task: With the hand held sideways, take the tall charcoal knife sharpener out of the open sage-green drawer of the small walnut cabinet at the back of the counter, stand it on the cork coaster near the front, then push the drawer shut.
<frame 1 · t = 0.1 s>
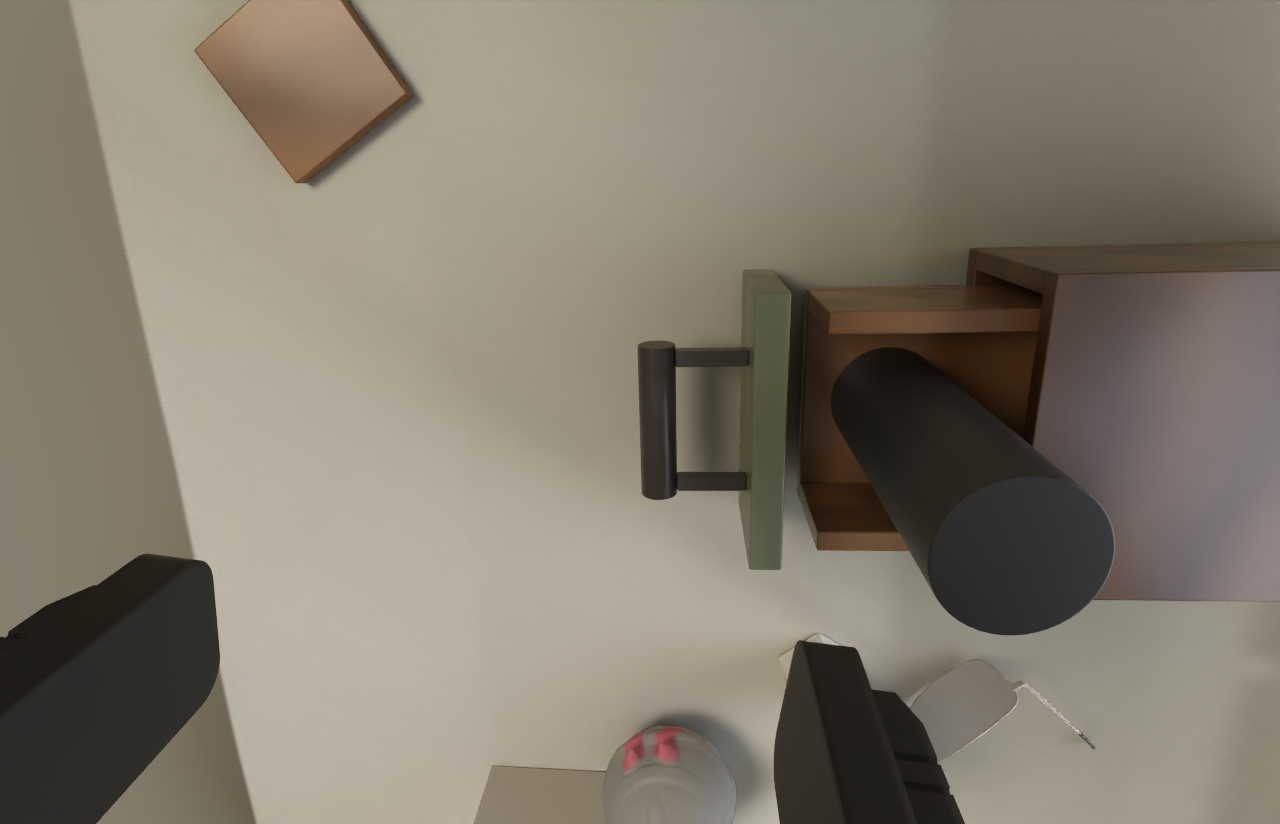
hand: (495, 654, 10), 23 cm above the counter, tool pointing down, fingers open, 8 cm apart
drawer: (855, 413, 29), point 4 cm above the counter, slide at 8.0 cm, touching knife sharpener
soap dispenser: (532, 812, 41), on the counter
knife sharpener: (885, 399, 30), point 2 cm above the counter, touching drawer
eyeglasses: (931, 762, 39), on the counter
cabinet: (1118, 383, 32), on the counter
figurine: (668, 743, 39), on the counter
perfume bottle: (819, 668, 37), on the counter
coaster: (310, 74, 30), on the counter
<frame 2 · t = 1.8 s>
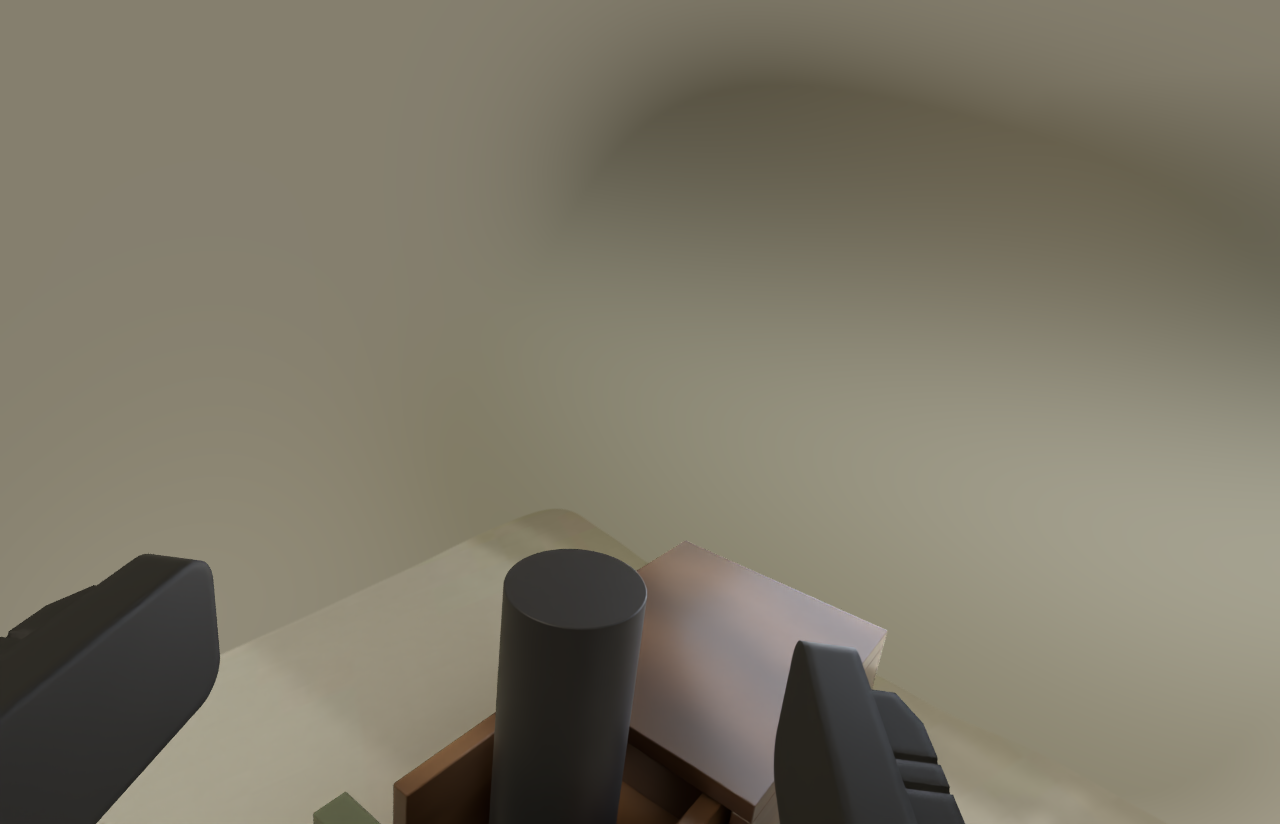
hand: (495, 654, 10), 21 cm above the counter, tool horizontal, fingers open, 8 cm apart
cabinet: (688, 772, 36), on the counter
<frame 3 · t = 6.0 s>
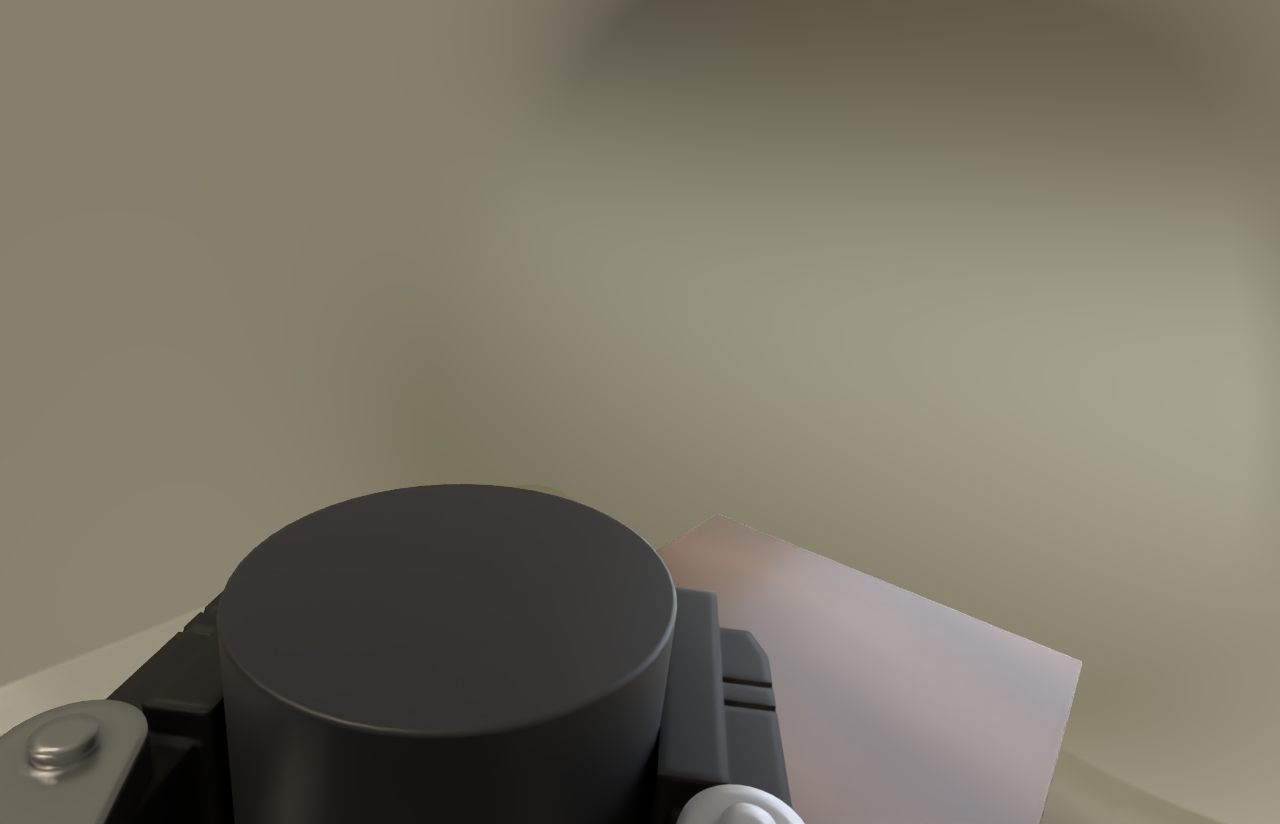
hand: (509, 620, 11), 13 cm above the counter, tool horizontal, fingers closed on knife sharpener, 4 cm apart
when the fingers open (11 cm above the counter, at t = 14.6 s): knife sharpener stays where it is, resting on coaster.
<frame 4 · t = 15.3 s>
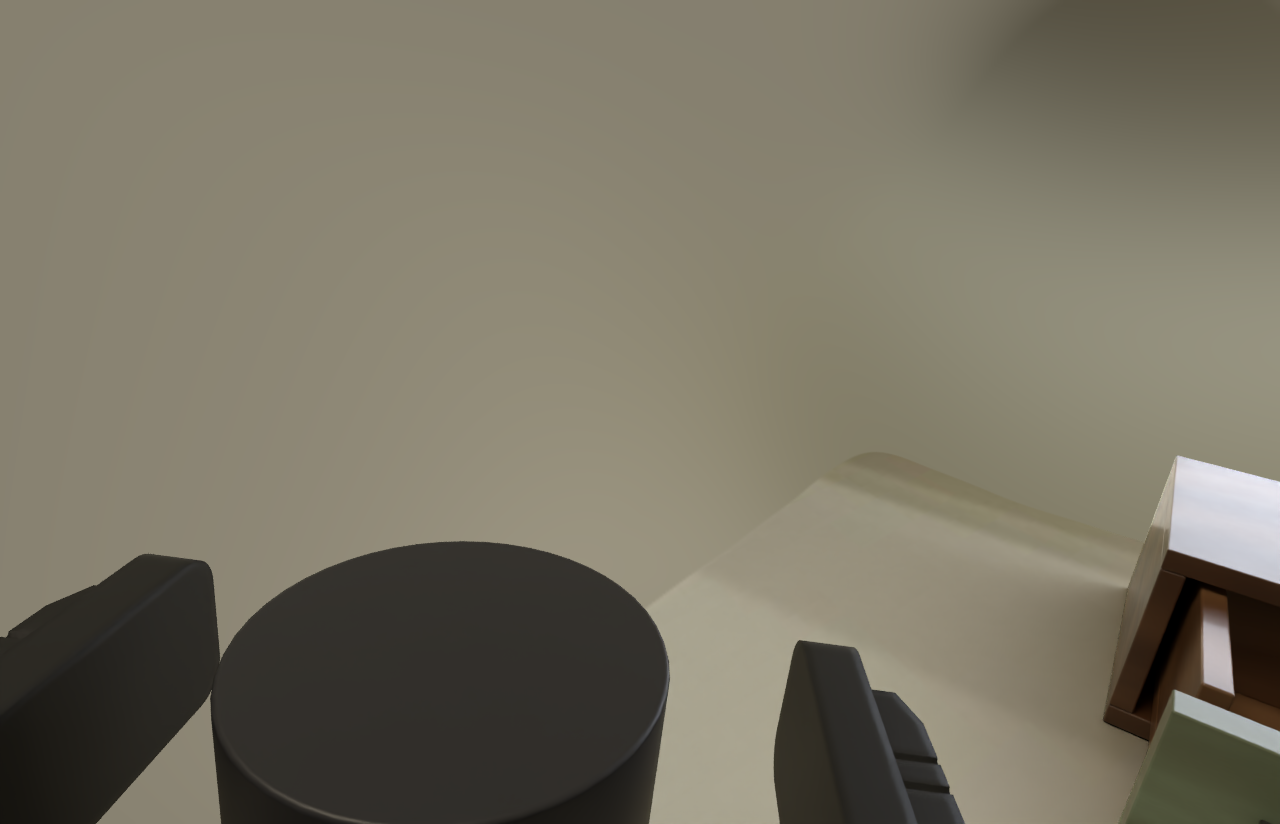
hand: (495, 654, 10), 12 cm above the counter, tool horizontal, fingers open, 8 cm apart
cabinet: (1275, 704, 31), on the counter
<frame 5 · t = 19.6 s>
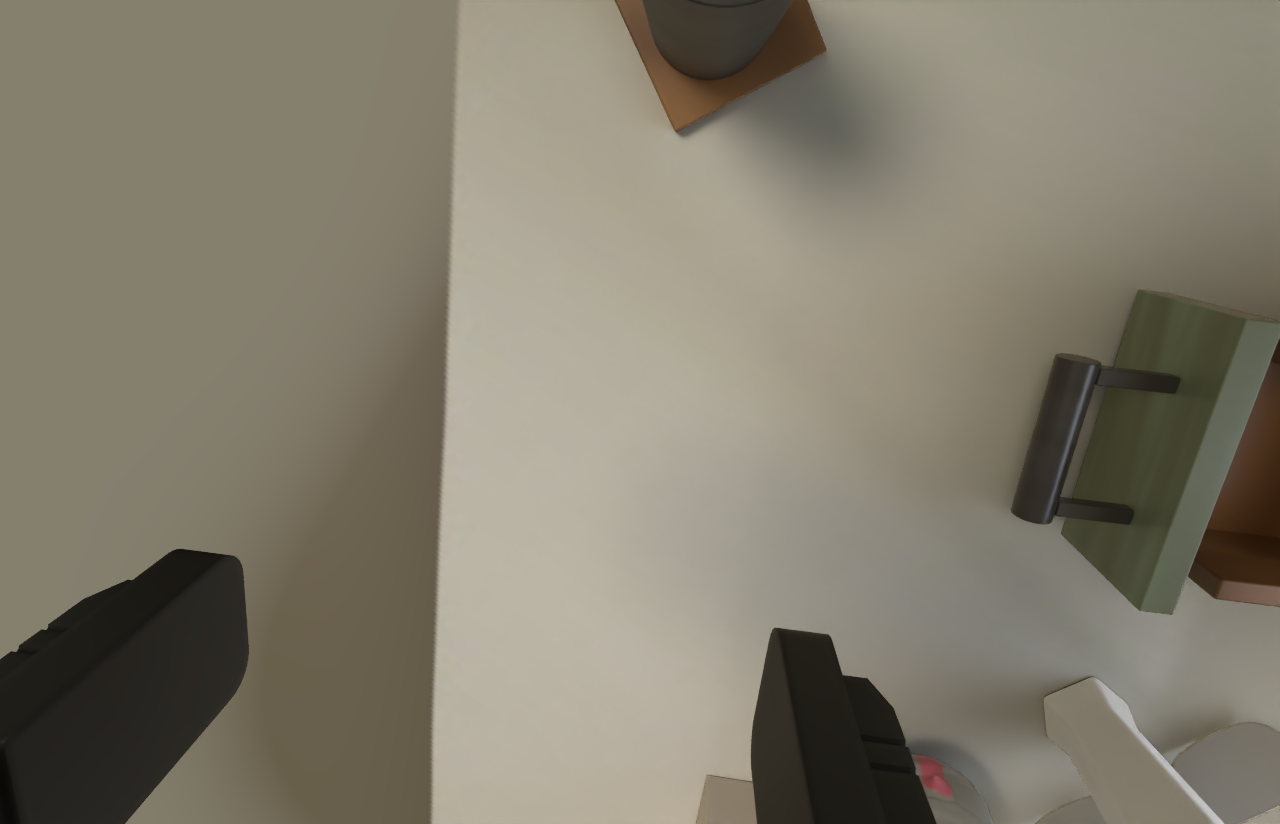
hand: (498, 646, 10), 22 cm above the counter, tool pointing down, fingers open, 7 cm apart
drawer: (1255, 457, 27), point 4 cm above the counter, slide at 8.0 cm
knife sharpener: (711, 12, 26), point 1 cm above the counter, touching coaster
eyeglasses: (1170, 820, 37), on the counter
figurine: (900, 772, 37), on the counter
perfume bottle: (1081, 712, 35), on the counter
coaster: (713, 14, 27), on the counter
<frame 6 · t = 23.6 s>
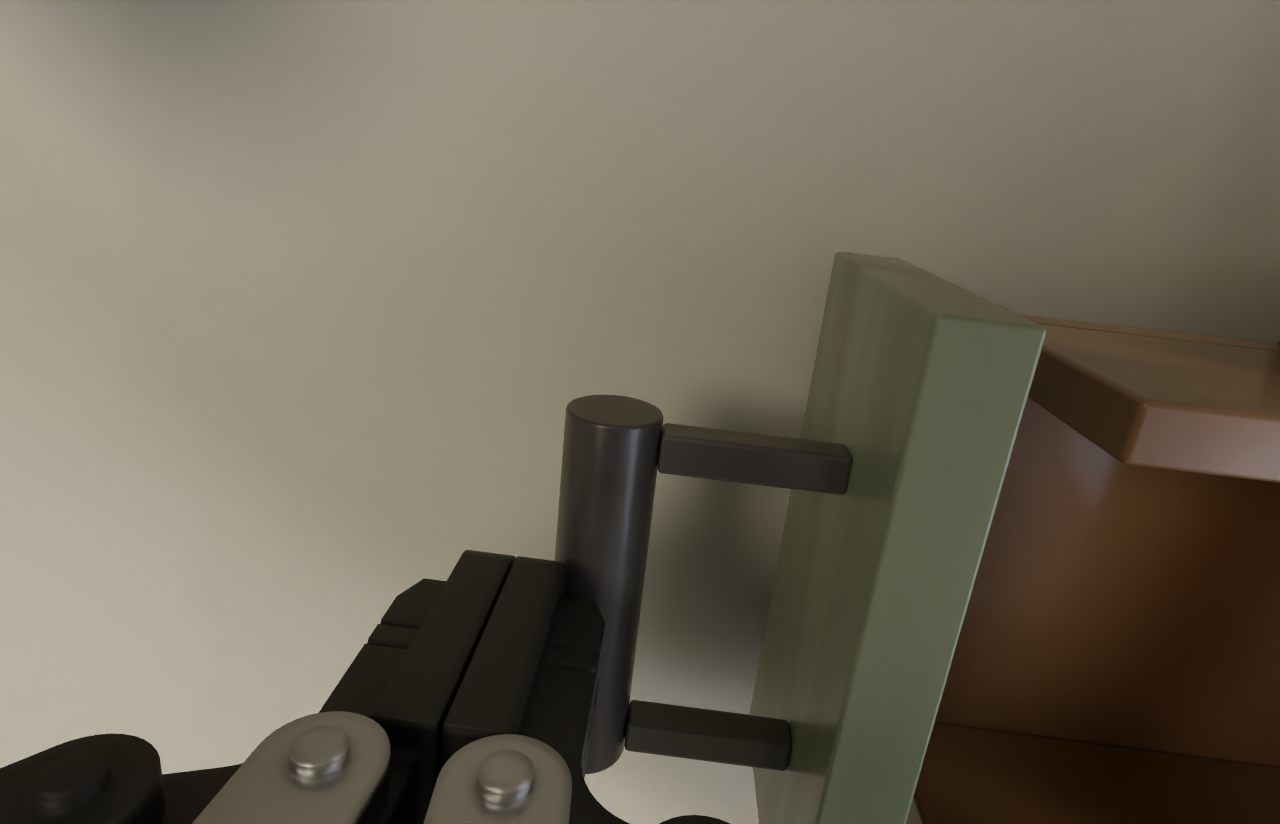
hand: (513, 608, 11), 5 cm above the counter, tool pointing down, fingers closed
drawer: (1065, 622, 12), point 4 cm above the counter, slide at 7.6 cm, touching gripper
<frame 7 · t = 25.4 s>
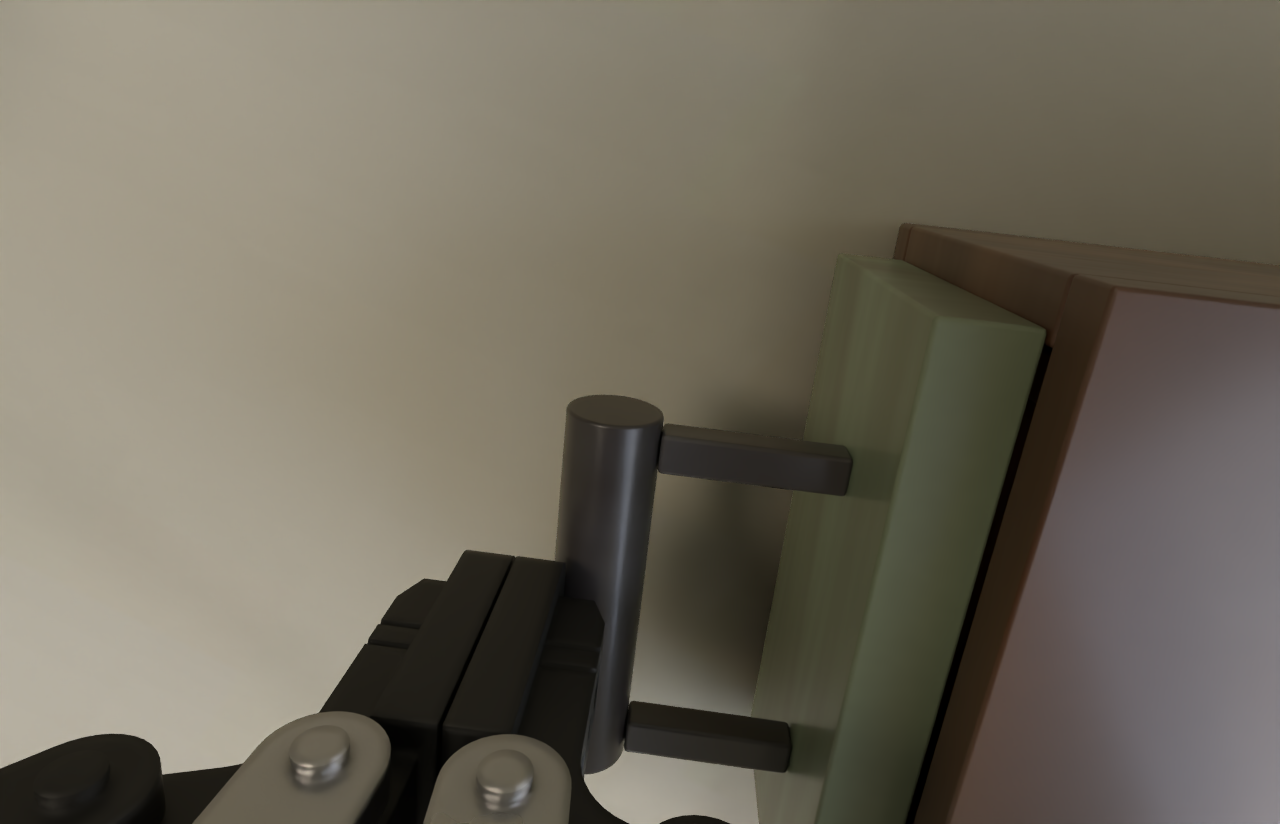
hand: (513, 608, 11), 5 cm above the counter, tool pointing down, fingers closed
drawer: (1067, 626, 12), point 4 cm above the counter, slide at 0.0 cm, touching cabinet, gripper
cabinet: (1166, 543, 16), on the counter
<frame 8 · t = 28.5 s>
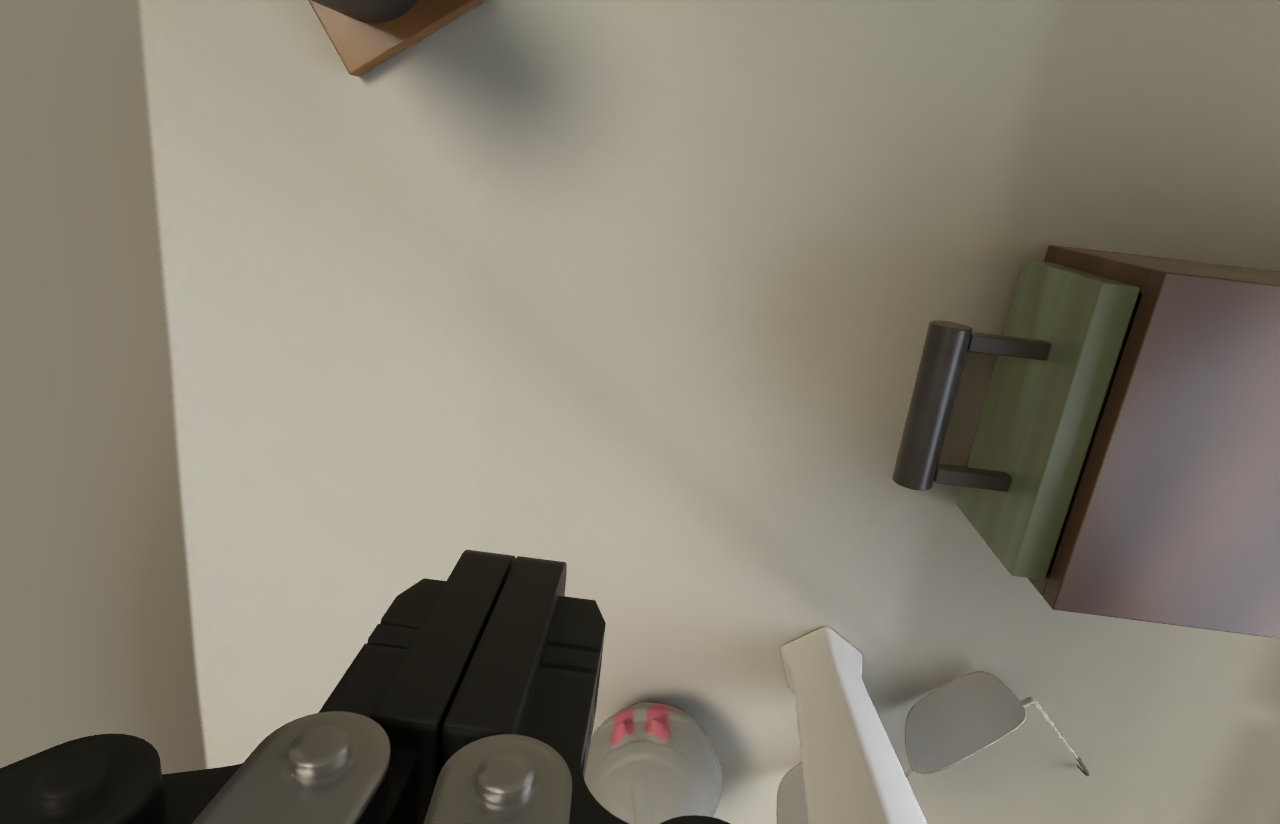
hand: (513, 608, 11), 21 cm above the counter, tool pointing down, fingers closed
drawer: (1132, 425, 27), point 4 cm above the counter, slide at 0.0 cm, touching cabinet
eyeglasses: (918, 771, 38), on the counter
cabinet: (1173, 406, 31), on the counter
figurine: (653, 722, 38), on the counter
perfume bottle: (820, 662, 36), on the counter
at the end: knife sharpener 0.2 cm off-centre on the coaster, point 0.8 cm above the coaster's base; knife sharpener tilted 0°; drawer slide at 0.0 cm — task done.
